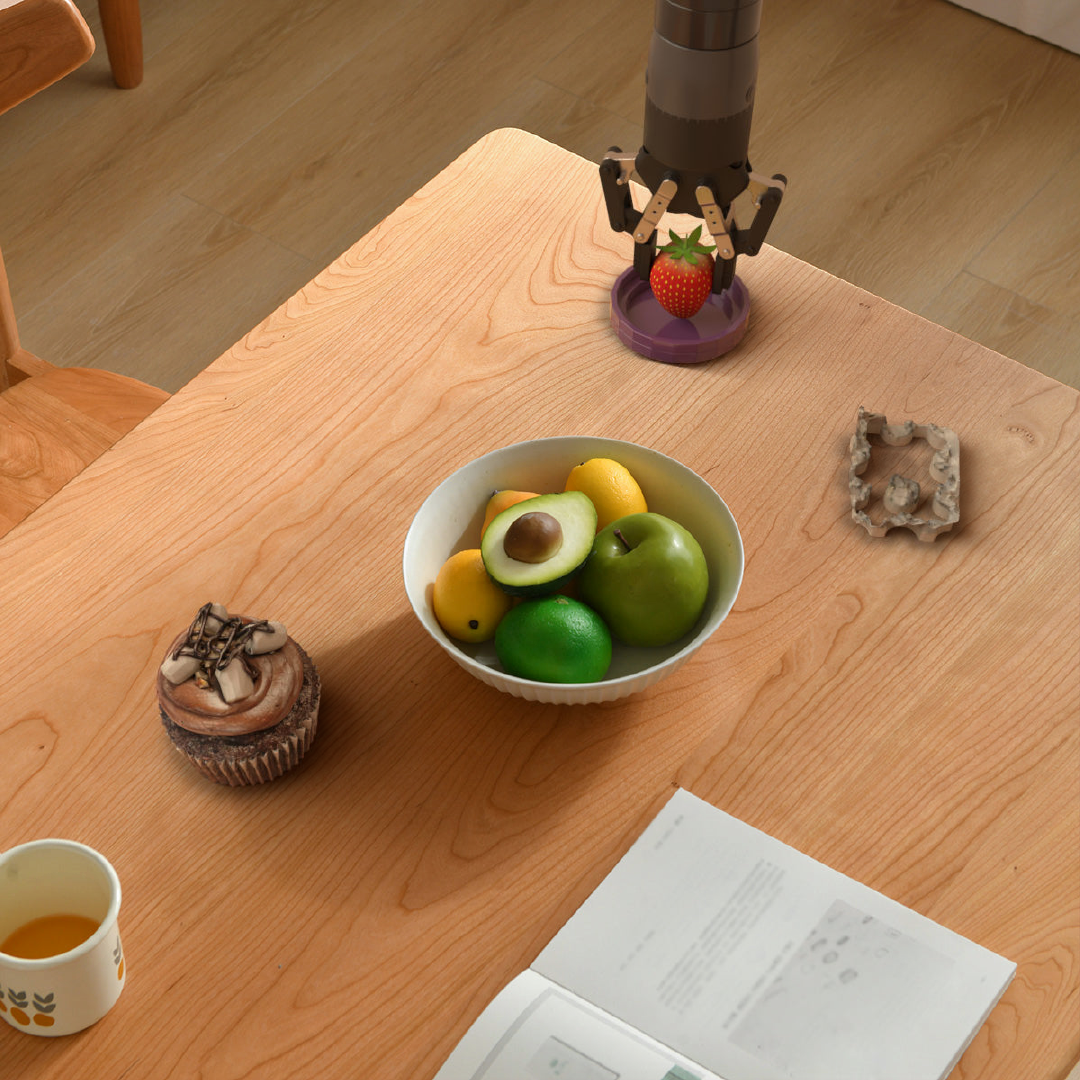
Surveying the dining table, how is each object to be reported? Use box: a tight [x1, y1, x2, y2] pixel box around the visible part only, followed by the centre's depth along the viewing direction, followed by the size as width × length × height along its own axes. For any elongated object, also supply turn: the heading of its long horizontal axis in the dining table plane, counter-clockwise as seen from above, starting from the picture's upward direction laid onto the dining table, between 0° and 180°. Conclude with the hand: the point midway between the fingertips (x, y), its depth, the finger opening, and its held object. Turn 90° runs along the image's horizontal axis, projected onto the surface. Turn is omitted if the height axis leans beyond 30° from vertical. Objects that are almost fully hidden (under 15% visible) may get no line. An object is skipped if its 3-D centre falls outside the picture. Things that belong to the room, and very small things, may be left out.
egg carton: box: [848, 405, 961, 543], centre depth 95 cm, size 11×8×4 cm
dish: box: [609, 264, 752, 364], centre depth 108 cm, size 11×11×3 cm
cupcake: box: [154, 601, 322, 787], centre depth 80 cm, size 10×10×10 cm
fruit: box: [650, 223, 717, 319], centre depth 106 cm, size 5×5×8 cm
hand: (682, 280), depth 106 cm, fingers closed on fruit, 5 cm apart
